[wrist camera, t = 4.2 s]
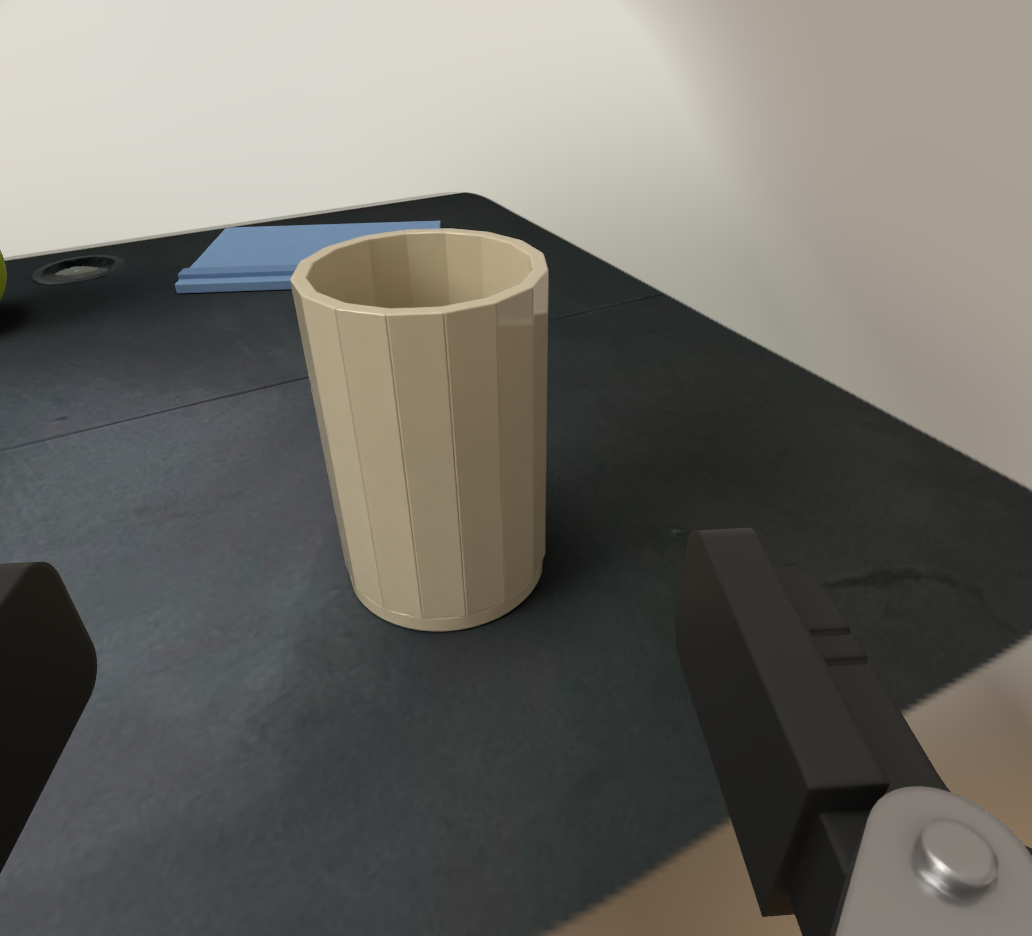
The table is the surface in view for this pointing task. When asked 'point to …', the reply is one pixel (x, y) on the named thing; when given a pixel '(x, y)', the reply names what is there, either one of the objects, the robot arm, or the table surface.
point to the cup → (432, 417)
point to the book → (271, 254)
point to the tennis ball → (2, 275)
